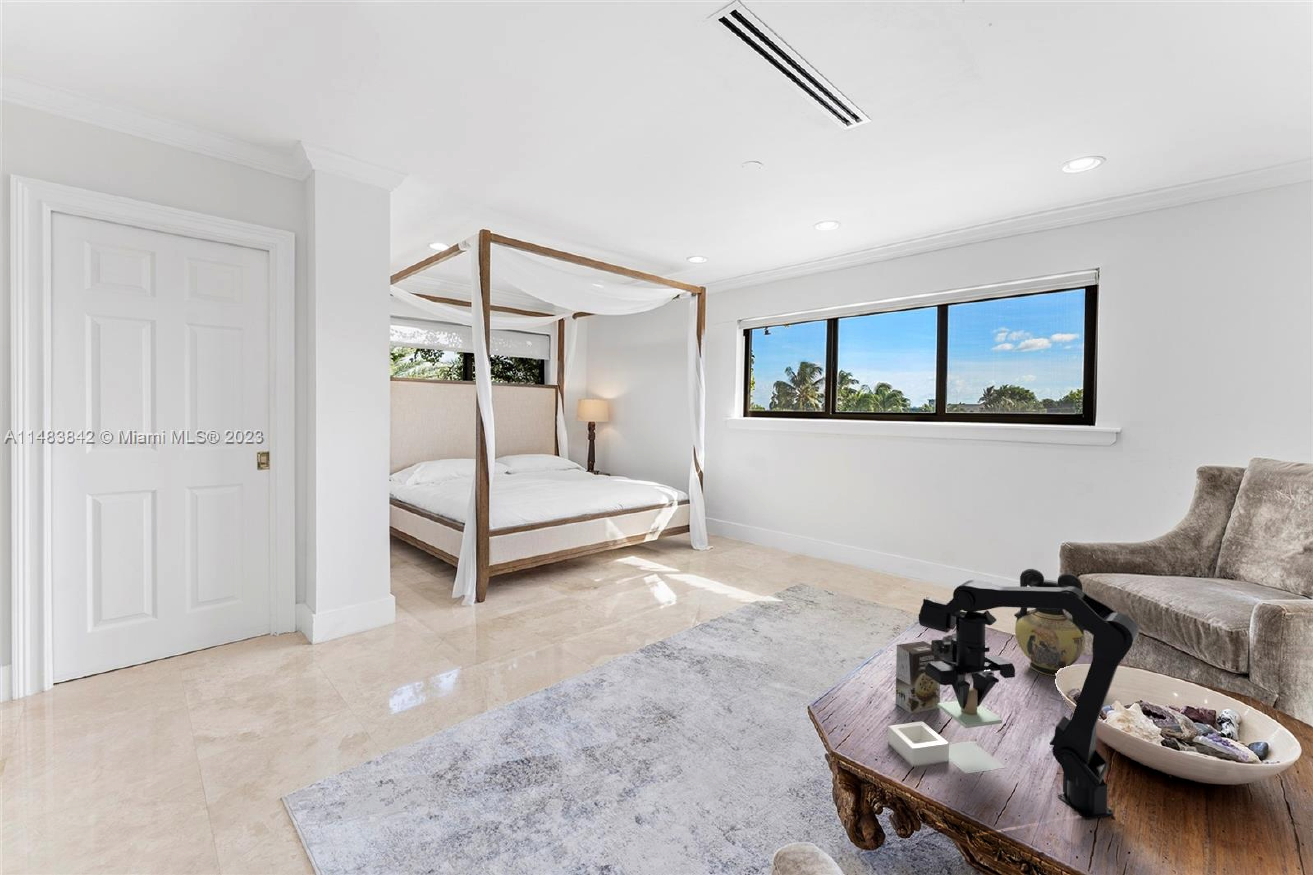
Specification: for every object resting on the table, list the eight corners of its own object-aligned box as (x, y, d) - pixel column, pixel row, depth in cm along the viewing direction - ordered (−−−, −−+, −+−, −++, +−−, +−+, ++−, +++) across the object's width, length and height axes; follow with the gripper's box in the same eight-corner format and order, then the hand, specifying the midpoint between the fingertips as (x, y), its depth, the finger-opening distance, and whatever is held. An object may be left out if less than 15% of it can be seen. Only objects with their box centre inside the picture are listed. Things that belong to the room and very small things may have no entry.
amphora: (1015, 675, 165) (1017, 574, 164) (1011, 653, 180) (1013, 560, 178) (1090, 689, 156) (1092, 582, 155) (1080, 664, 171) (1082, 567, 170)
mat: (1005, 769, 123) (1005, 767, 122) (965, 775, 121) (965, 773, 121) (971, 742, 132) (971, 741, 132) (934, 748, 130) (934, 746, 130)
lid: (1002, 723, 122) (1002, 697, 122) (965, 728, 121) (966, 701, 120) (971, 702, 131) (972, 678, 131) (937, 706, 130) (937, 682, 129)
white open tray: (948, 763, 125) (949, 743, 125) (912, 768, 123) (912, 748, 123) (922, 739, 134) (922, 721, 134) (888, 744, 132) (888, 725, 132)
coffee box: (911, 715, 144) (912, 654, 144) (894, 703, 151) (895, 644, 150) (941, 710, 147) (941, 649, 146) (923, 698, 153) (923, 639, 152)
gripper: (979, 621, 135) (978, 685, 136) (909, 628, 131) (909, 693, 132) (1017, 640, 124) (1016, 709, 125) (942, 648, 120) (941, 719, 121)
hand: (969, 706), depth 126 cm, fingers closed on lid, 3 cm apart
